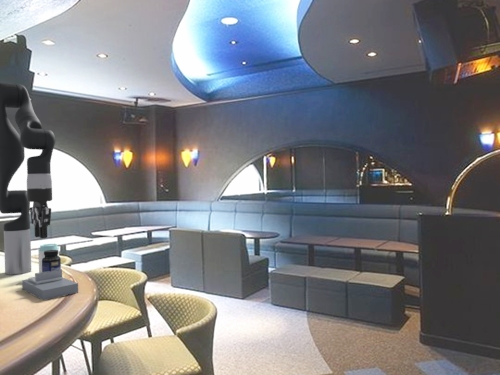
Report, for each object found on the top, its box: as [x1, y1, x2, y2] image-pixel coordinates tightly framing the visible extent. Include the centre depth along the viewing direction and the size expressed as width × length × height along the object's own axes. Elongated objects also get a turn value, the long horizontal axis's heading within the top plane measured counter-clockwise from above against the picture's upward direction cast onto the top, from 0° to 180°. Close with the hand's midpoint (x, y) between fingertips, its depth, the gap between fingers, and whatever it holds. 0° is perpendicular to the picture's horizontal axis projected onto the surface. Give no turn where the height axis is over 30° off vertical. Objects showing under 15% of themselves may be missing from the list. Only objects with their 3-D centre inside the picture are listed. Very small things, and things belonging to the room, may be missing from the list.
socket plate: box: [21, 276, 79, 301], centre depth 129 cm, size 19×11×3 cm, turn 46°
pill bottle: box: [42, 250, 62, 272], centre depth 143 cm, size 6×6×11 cm
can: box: [38, 243, 60, 273], centre depth 151 cm, size 7×7×12 cm
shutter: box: [27, 268, 63, 284], centre depth 132 cm, size 8×8×3 cm
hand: (41, 237), depth 134 cm, fingers open, 4 cm apart
